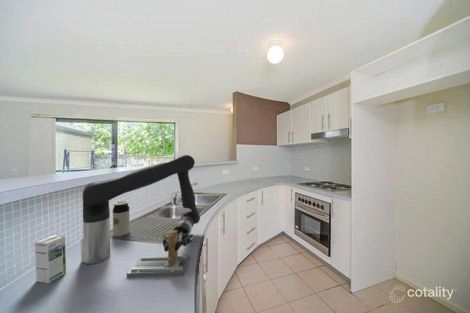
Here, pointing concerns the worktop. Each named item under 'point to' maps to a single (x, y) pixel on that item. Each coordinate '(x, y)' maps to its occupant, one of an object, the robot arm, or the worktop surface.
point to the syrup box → (50, 258)
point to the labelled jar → (121, 218)
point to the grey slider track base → (157, 267)
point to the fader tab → (172, 250)
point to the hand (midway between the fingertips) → (170, 249)
